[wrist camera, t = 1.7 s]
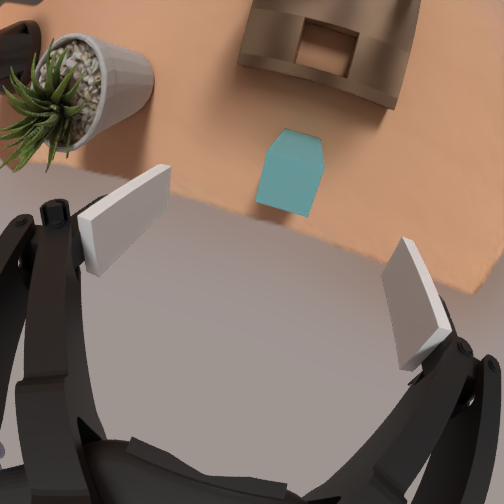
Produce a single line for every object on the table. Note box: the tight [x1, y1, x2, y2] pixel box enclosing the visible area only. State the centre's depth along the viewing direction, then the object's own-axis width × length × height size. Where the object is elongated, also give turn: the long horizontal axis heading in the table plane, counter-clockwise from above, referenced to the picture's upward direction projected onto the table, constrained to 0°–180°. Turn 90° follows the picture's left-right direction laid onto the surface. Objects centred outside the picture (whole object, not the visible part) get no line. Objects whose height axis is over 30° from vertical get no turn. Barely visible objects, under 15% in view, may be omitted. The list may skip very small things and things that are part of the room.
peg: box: [255, 129, 325, 217], centre depth 24 cm, size 4×4×12 cm
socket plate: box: [237, 0, 421, 110], centre depth 18 cm, size 16×16×2 cm
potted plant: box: [0, 33, 154, 173], centre depth 19 cm, size 13×14×20 cm
